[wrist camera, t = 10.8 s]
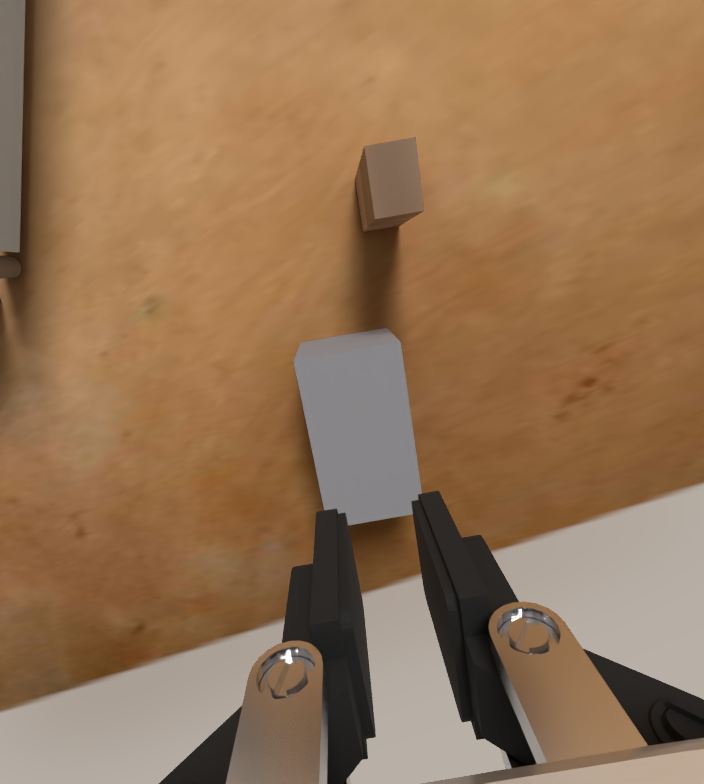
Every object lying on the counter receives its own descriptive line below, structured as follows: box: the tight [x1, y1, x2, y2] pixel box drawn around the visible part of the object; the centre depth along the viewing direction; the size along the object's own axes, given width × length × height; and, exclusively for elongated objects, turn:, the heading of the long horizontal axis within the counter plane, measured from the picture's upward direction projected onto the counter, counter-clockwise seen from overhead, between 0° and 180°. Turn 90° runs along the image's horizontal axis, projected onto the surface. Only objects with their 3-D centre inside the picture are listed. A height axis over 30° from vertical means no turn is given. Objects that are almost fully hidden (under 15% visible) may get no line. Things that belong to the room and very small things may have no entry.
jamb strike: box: [355, 137, 424, 232], centre depth 19 cm, size 2×2×6 cm
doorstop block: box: [294, 328, 422, 525], centre depth 22 cm, size 4×8×5 cm, turn 9°
